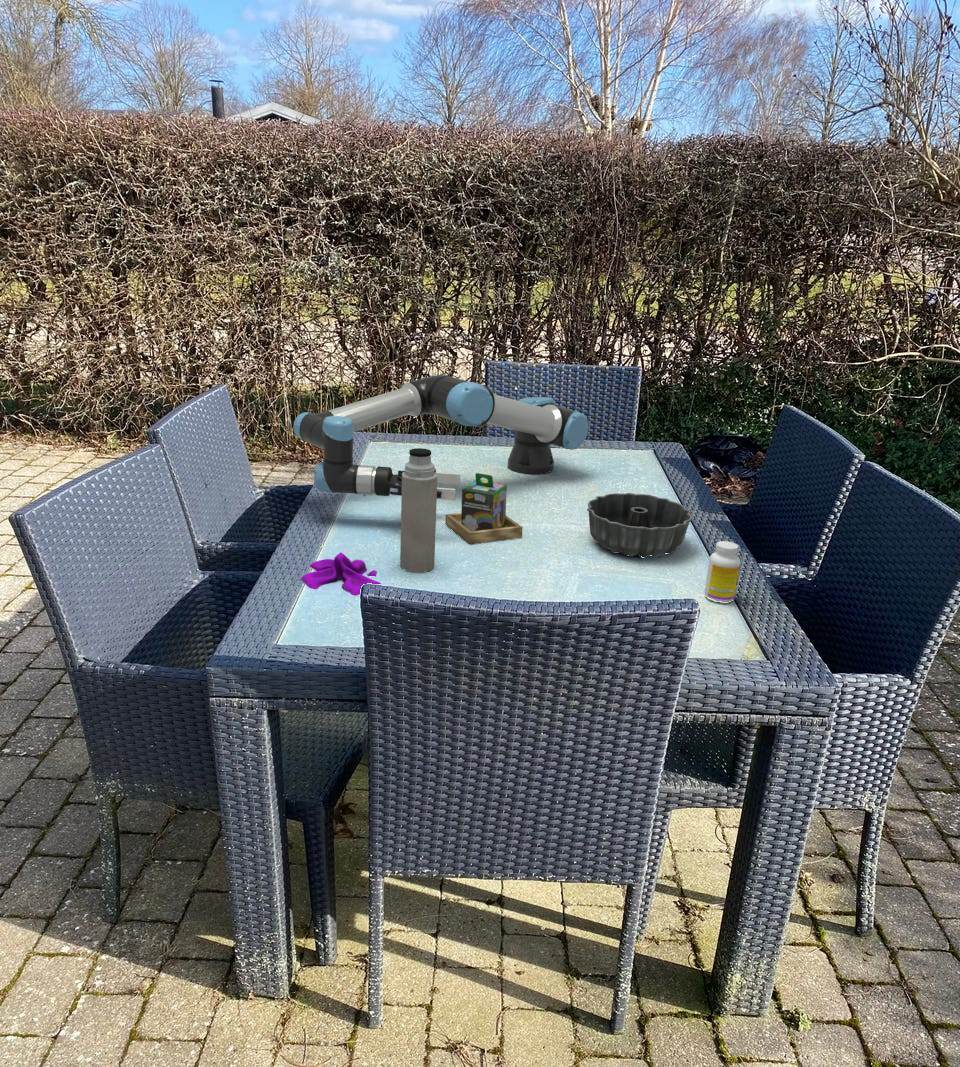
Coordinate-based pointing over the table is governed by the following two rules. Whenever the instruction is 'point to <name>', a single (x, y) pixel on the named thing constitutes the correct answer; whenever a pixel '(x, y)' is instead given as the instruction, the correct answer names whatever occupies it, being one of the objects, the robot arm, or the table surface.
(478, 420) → the robot arm
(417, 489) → the thermos bottle
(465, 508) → the chalk box
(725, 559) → the supplement bottle
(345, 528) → the table surface
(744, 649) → the table surface
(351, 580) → the cloth
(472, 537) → the bamboo tray
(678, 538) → the bundt pan
